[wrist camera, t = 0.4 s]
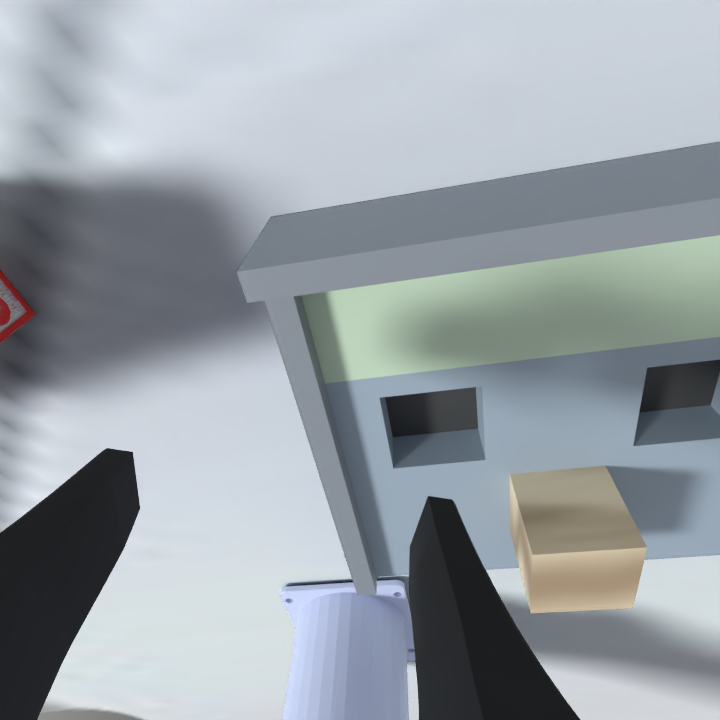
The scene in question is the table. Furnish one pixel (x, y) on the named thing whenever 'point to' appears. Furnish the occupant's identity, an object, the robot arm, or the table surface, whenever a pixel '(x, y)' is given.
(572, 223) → the box
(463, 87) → the table surface
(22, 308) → the stack of blocks
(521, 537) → the maple block
